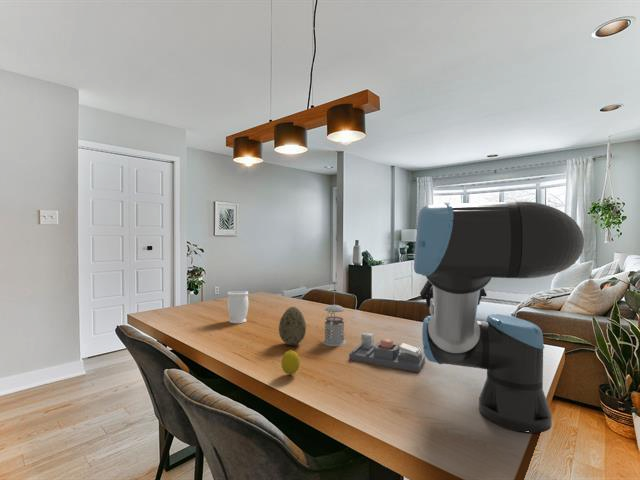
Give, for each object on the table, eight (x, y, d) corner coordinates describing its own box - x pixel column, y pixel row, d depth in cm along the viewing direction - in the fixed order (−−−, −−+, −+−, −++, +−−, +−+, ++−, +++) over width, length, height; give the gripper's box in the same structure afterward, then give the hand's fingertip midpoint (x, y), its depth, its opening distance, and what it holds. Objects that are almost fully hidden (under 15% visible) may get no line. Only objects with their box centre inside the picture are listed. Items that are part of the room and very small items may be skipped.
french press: (326, 347, 128) (326, 283, 127) (318, 338, 139) (318, 279, 139) (349, 345, 130) (350, 282, 130) (340, 336, 142) (340, 278, 141)
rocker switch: (418, 357, 107) (419, 351, 107) (399, 349, 110) (400, 344, 110) (420, 352, 111) (421, 347, 111) (402, 346, 114) (403, 341, 114)
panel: (419, 372, 104) (419, 356, 104) (349, 359, 115) (349, 345, 115) (424, 361, 113) (424, 347, 113) (359, 350, 124) (359, 337, 124)
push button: (391, 352, 111) (391, 343, 111) (378, 349, 113) (378, 341, 113) (394, 348, 115) (394, 339, 115) (382, 346, 117) (382, 337, 117)
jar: (225, 320, 168) (225, 291, 168) (246, 318, 173) (245, 289, 173) (229, 325, 159) (229, 294, 159) (250, 323, 163) (250, 292, 163)
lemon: (290, 370, 106) (290, 345, 106) (303, 375, 102) (303, 349, 102) (277, 376, 101) (277, 350, 101) (290, 381, 98) (290, 354, 98)
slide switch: (370, 349, 118) (371, 335, 118) (361, 348, 120) (361, 334, 120) (373, 347, 121) (373, 333, 121) (364, 345, 123) (364, 332, 123)
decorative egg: (311, 343, 132) (311, 306, 132) (294, 351, 123) (294, 311, 123) (290, 338, 138) (290, 303, 138) (273, 345, 129) (273, 307, 129)
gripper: (493, 251, 102) (488, 303, 112) (410, 256, 108) (413, 305, 118) (501, 264, 96) (495, 318, 106) (412, 269, 101) (415, 320, 112)
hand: (452, 312), depth 112 cm, fingers open, 13 cm apart
